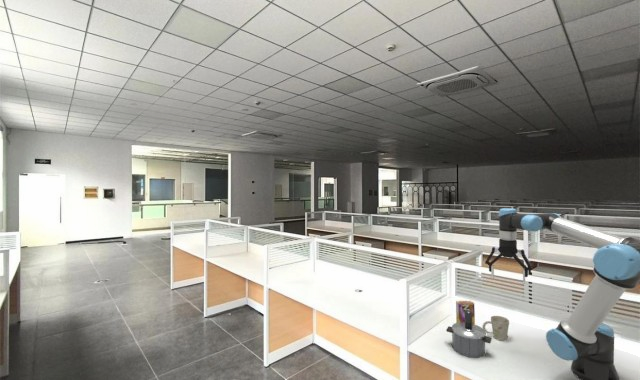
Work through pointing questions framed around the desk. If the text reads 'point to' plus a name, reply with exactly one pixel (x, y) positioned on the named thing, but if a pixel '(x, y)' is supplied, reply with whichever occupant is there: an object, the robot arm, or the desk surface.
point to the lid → (468, 328)
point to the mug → (498, 327)
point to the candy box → (461, 308)
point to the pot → (468, 345)
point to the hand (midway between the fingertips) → (507, 280)
